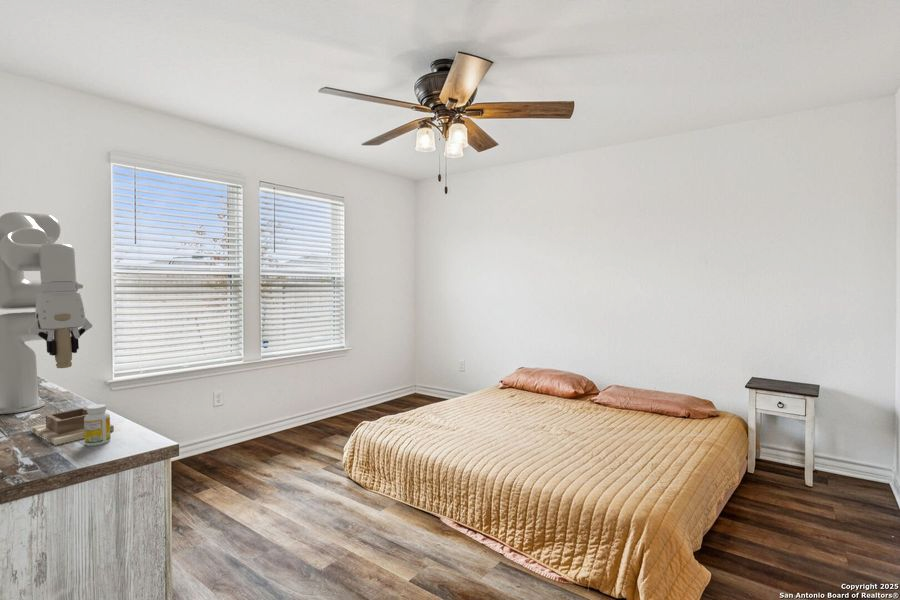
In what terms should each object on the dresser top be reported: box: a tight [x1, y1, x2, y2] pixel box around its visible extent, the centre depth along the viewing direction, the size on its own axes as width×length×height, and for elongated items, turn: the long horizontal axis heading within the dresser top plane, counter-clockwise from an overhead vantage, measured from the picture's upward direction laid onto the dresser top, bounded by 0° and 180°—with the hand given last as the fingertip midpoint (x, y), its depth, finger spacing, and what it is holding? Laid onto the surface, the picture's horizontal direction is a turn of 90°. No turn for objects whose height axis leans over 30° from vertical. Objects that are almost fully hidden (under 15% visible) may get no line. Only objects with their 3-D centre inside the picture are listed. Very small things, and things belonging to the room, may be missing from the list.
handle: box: [53, 314, 73, 369], centre depth 128 cm, size 5×6×15 cm
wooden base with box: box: [31, 406, 115, 446], centre depth 127 cm, size 18×13×5 cm
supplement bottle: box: [84, 403, 111, 447], centre depth 119 cm, size 5×5×10 cm
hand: (63, 353), depth 128 cm, fingers closed on handle, 3 cm apart
